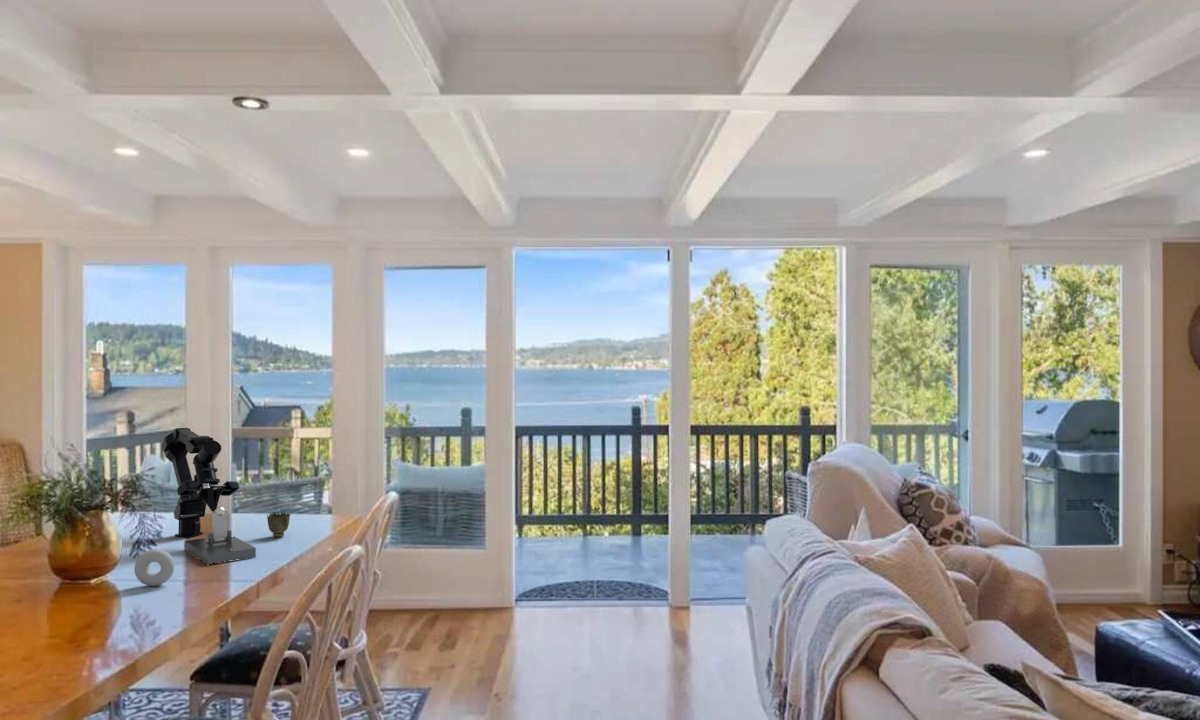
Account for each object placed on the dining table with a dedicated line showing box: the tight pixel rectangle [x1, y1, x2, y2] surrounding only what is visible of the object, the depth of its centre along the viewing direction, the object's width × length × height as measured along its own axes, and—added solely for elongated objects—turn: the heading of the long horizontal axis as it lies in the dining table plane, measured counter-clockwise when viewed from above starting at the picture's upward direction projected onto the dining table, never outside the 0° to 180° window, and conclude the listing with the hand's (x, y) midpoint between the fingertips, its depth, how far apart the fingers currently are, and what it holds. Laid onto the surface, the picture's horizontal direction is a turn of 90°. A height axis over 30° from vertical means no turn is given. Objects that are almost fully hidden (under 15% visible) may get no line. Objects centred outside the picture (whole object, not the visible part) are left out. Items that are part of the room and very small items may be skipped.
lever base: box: [184, 529, 257, 564], centre depth 240 cm, size 24×14×7 cm, turn 44°
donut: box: [134, 548, 175, 587], centre depth 206 cm, size 10×4×10 cm, turn 100°
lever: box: [211, 506, 228, 544], centre depth 240 cm, size 3×4×12 cm
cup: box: [266, 511, 291, 538], centre depth 263 cm, size 8×7×8 cm
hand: (214, 511), depth 247 cm, fingers closed
